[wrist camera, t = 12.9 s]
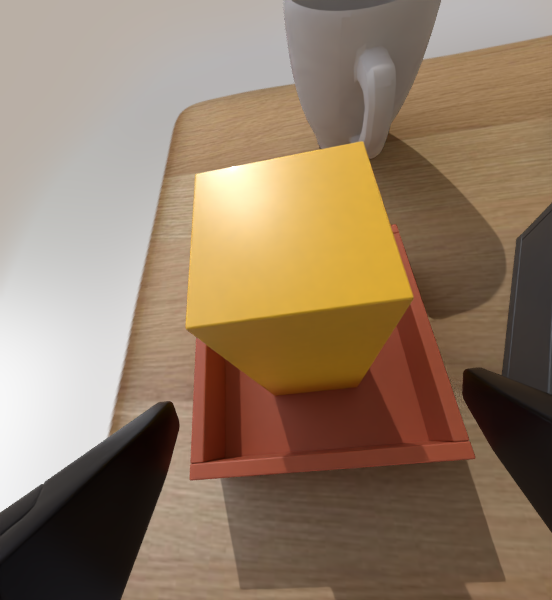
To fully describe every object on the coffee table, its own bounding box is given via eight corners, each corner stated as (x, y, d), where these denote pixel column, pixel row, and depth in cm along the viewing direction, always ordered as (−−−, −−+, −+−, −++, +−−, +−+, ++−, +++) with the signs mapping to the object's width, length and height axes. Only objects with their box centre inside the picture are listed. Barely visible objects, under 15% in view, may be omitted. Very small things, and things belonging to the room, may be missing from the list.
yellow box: (357, 387, 15) (415, 298, 5) (274, 395, 16) (183, 329, 6) (342, 309, 17) (363, 139, 7) (268, 319, 18) (194, 173, 8)
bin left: (441, 453, 14) (476, 458, 11) (218, 471, 15) (189, 480, 12) (384, 259, 19) (396, 223, 15) (219, 284, 20) (199, 256, 17)
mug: (293, 114, 27) (277, -40, 18) (391, 94, 26) (423, -79, 17) (306, 213, 21) (292, 63, 13) (429, 194, 20) (505, 17, 12)
